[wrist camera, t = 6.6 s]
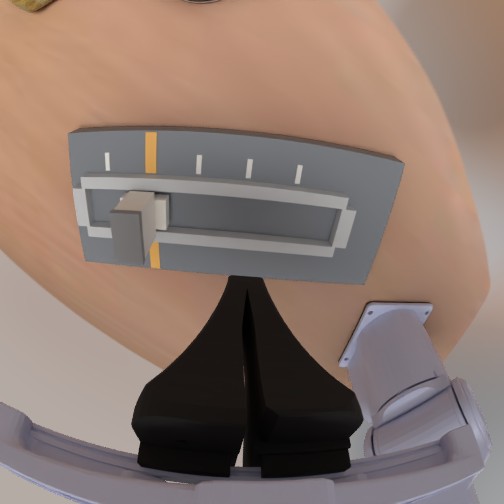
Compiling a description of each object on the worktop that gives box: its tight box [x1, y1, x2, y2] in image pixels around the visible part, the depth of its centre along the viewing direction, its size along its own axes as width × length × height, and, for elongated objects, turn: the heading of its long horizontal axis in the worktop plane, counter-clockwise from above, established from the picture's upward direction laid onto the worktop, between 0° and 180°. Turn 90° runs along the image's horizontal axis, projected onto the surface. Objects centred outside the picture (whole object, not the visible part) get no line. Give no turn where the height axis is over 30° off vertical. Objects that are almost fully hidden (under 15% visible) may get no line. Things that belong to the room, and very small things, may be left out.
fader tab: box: [109, 191, 169, 265], centre depth 17 cm, size 3×3×4 cm
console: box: [68, 126, 405, 285], centre depth 19 cm, size 10×22×2 cm, turn 83°
